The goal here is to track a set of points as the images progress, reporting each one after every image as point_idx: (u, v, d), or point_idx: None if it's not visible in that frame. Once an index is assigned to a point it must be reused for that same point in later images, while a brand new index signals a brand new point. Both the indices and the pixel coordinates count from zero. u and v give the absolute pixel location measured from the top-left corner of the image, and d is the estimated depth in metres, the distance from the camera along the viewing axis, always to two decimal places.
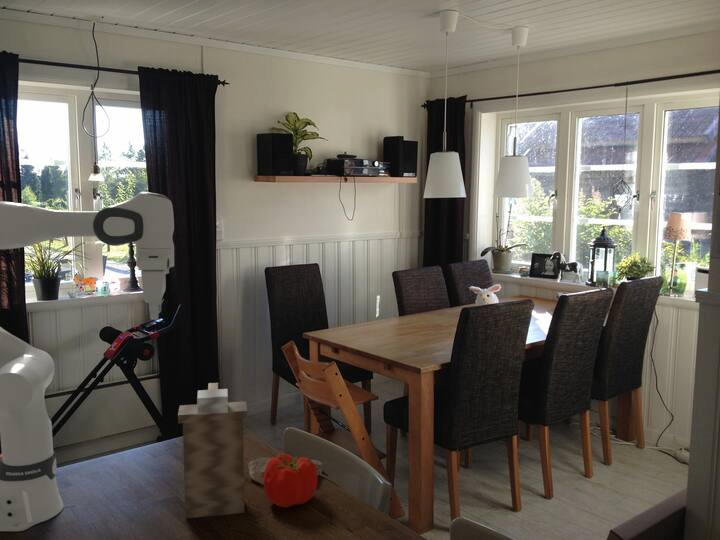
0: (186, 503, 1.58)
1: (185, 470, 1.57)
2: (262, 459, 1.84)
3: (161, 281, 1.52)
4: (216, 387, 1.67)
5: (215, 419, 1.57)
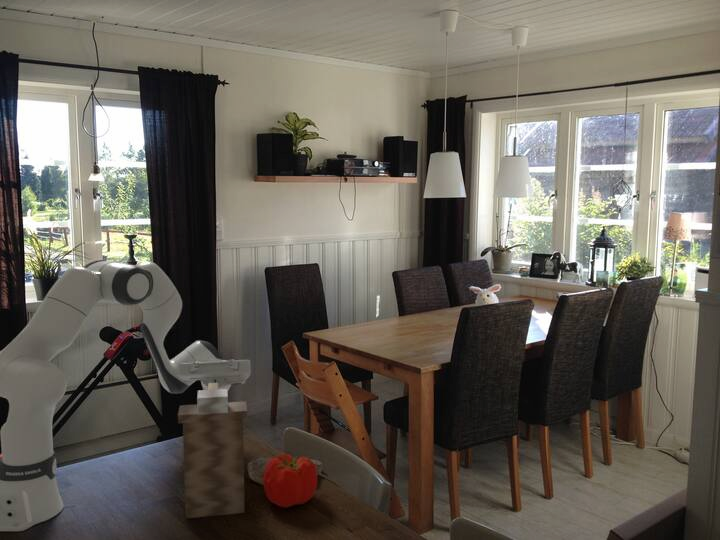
0: (186, 503, 1.58)
1: (185, 470, 1.57)
2: (261, 459, 1.83)
3: (248, 376, 1.91)
4: (216, 387, 1.67)
5: (215, 419, 1.57)
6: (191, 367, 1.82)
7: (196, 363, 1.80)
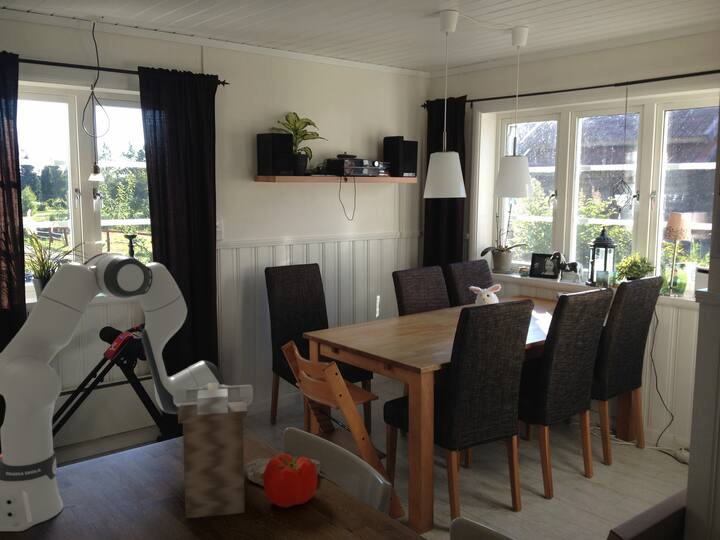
0: (186, 503, 1.58)
1: (185, 470, 1.57)
2: (259, 460, 1.83)
3: (250, 402, 1.76)
4: (216, 387, 1.67)
5: (215, 419, 1.57)
6: None
7: (205, 388, 1.66)
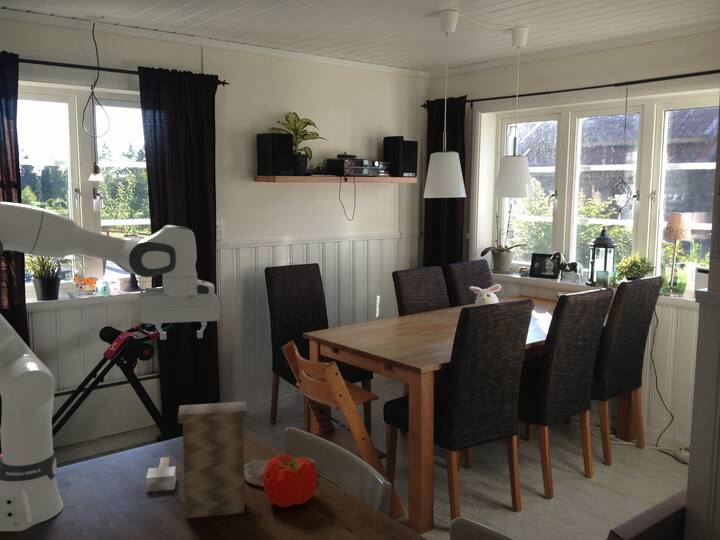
0: (186, 503, 1.58)
1: (185, 470, 1.57)
2: (255, 462, 1.82)
3: None
4: (167, 463, 1.84)
5: (215, 419, 1.57)
6: None
7: None
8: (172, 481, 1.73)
